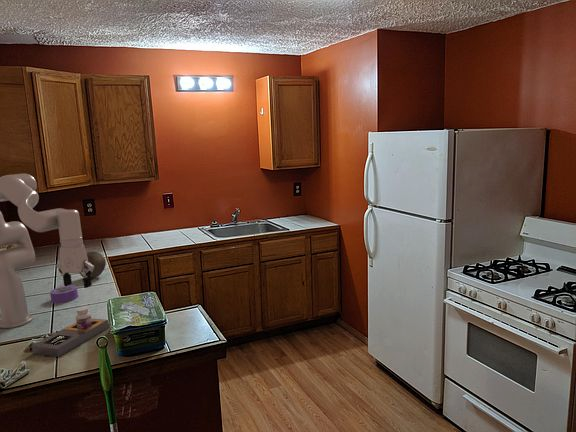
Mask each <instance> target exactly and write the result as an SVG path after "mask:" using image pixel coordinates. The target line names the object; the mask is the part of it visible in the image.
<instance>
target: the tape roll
mask: <svg viewBox="0 0 576 432" xmlns="http://www.w3.org/2000/svg"><path fill="white" fill-rule="evenodd" d="M49 294H50V299H51V303H52V304H64V303H69V302H72V301H75V300H76V298H77V299H78V297H79V293H78V287H77V286H76V285H68V286H64V285H63V286H59V287H55V288H53V289H51V290H50V291H49Z"/></svg>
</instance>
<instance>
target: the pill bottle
mask: <svg viewBox="0 0 576 432" xmlns="http://www.w3.org/2000/svg"><path fill="white" fill-rule="evenodd" d="M91 319H92V314H91V312H89V307H87V306H85V307H79V308H77V309H76V316H75V321H76V322H77V328H78V329H87V328H89V327H90V326H92V320H91Z"/></svg>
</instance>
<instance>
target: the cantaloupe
mask: <svg viewBox="0 0 576 432" xmlns="http://www.w3.org/2000/svg"><path fill="white" fill-rule="evenodd" d="M86 253H87V257H88V262H89V263H91V264H92V265H94V270H93V273H92V276H91V280H94V279H96V278H97V277H100V275H102V273H103V272H104V270H105V268H106V265H107V260H106V258H105V257H104V255H102V254H101V253H99V252H98V251H86ZM88 270H89V269H88ZM85 273H86V271H85ZM79 275H80V276H81V277H82V278H84V276H83V275H82V274H81V273H79Z"/></svg>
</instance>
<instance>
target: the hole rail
mask: <svg viewBox="0 0 576 432" xmlns="http://www.w3.org/2000/svg"><path fill="white" fill-rule="evenodd" d="M91 320H92V326H90V327H89V328H87V329H78V328H77V322H73V323H71V324H69V325H68V326H66V327H64V328H62V329H61V330H59V331H57V332H55V333H54V334H51V335H49V336H48V337H46V338H44V339H41V340H40V341H38V342H36V343H34V344H31V350H32V354H33V355H38V356H39V355H40V356H48V357H57V358H60V357H61V356H63V355H65V354H66V353H68V352H70V351H71V350H73V349H74V348H76V347H78V346H79V345H81V344H83V343H84V342H86V341H89V340H90V339H92V338H93V337H95V336H97V335H99V334H100V333H102V332H104V331H105V330H107V329H108V327H109V328H110V324H108V321H109V319H103V318H101V319H100V318H91ZM59 336H64V337H66V338H67V339H68V340H66V341H64V342H62V343H58V344H56V345H53V344H51V342H52V341H53V340H54V339H56V338H57V337H59Z"/></svg>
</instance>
